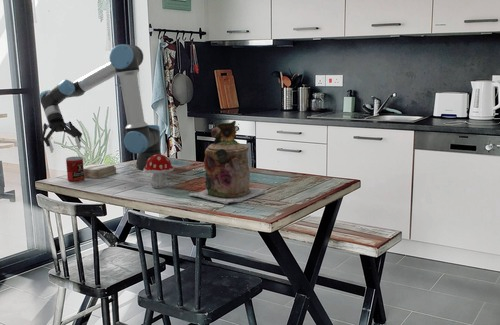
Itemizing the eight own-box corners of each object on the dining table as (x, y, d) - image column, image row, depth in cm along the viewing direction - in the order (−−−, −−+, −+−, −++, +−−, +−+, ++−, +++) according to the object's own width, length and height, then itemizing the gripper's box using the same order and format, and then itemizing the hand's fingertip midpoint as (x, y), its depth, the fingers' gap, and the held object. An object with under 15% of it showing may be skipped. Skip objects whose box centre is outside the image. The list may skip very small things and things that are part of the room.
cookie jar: (225, 186, 244) (224, 116, 238) (268, 194, 228) (268, 119, 222) (186, 197, 225) (184, 121, 219) (230, 206, 210) (229, 125, 203)
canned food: (74, 182, 253) (72, 159, 251) (64, 180, 258) (62, 158, 256) (87, 179, 259) (86, 157, 257) (77, 177, 264) (76, 155, 262)
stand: (116, 172, 275) (115, 165, 274) (98, 178, 262) (98, 170, 261) (94, 170, 280) (93, 163, 279) (76, 176, 267) (75, 168, 267)
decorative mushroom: (157, 182, 252) (155, 150, 249) (181, 185, 246) (179, 153, 243) (137, 188, 240) (135, 155, 237) (162, 191, 234) (161, 158, 231)
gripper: (77, 119, 283) (89, 151, 274) (27, 123, 268) (39, 156, 259) (79, 110, 277) (92, 142, 268) (29, 113, 263) (41, 147, 254)
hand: (66, 149), depth 264 cm, fingers open, 13 cm apart
